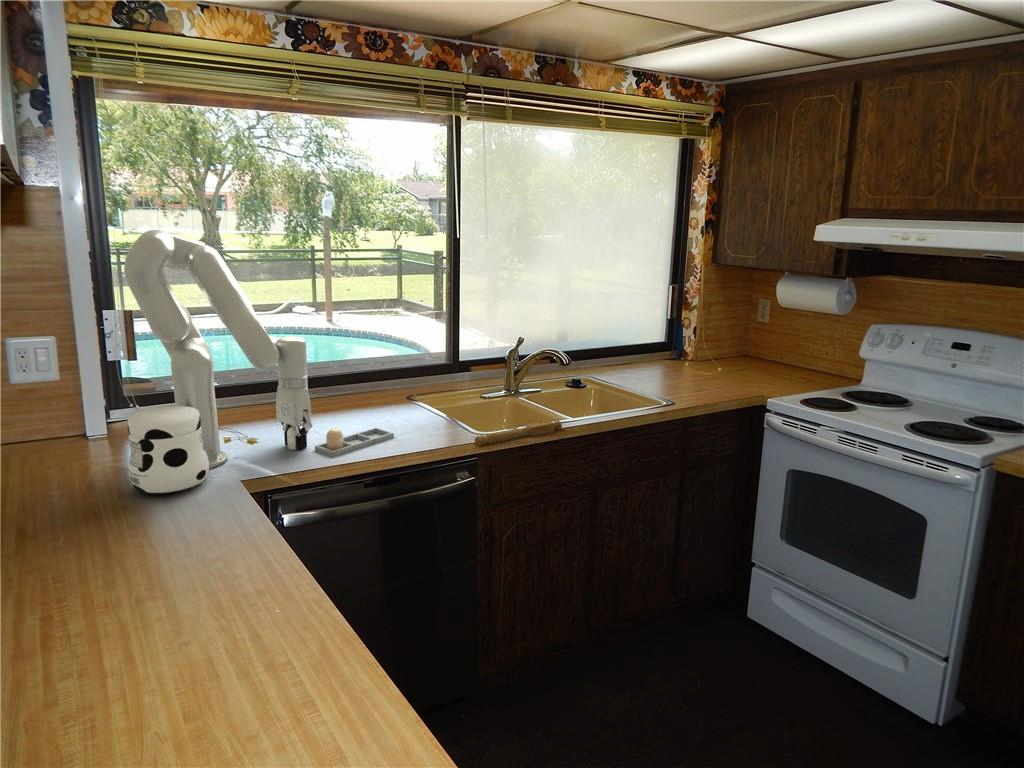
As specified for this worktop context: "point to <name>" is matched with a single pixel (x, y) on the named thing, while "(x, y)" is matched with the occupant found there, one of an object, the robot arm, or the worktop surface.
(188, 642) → the worktop surface
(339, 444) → the brown egg
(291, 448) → the white egg
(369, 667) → the worktop surface
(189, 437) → the milk container
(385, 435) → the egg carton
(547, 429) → the brown long rod
